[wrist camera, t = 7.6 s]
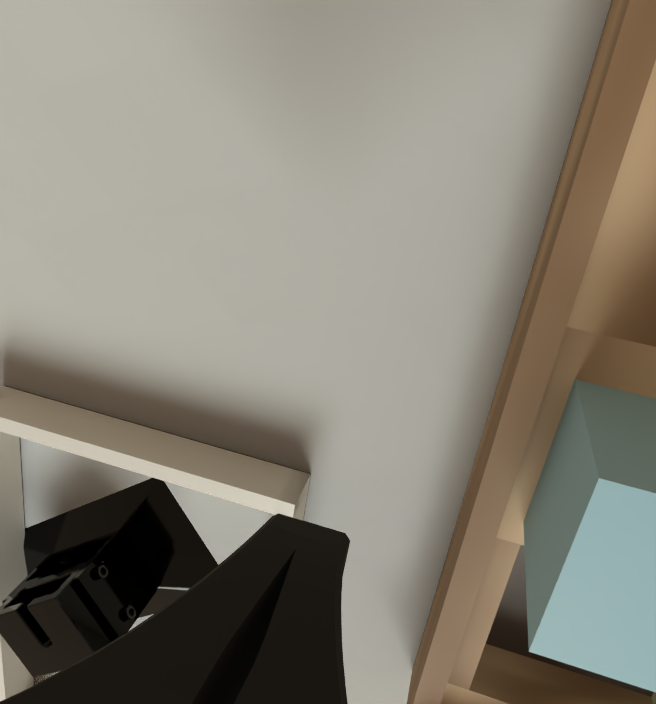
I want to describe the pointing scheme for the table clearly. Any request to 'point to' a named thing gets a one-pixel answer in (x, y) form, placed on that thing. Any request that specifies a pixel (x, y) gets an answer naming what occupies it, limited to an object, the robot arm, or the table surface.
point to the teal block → (596, 538)
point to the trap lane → (556, 384)
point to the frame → (128, 453)
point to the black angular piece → (100, 575)
